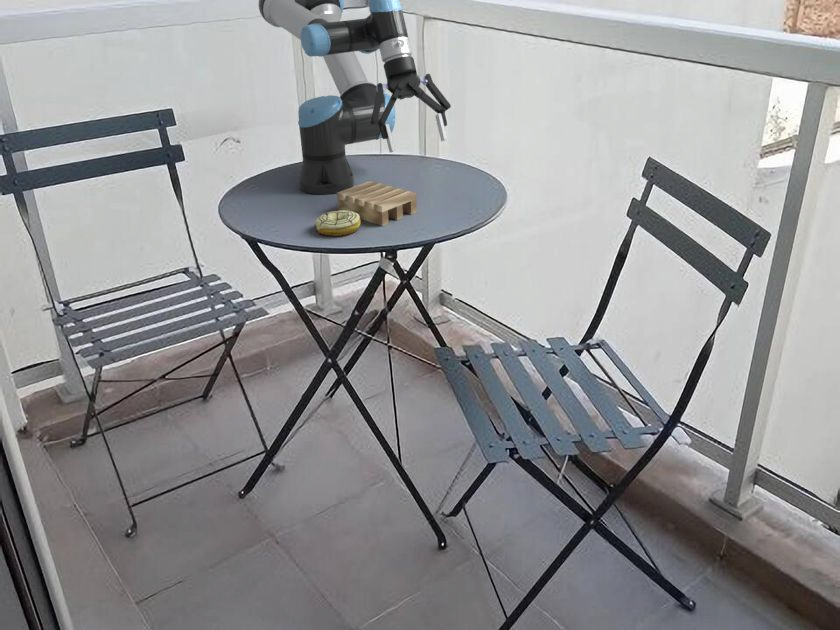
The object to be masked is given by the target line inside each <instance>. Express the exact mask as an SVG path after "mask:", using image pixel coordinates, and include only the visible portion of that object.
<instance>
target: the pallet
mask: <svg viewBox="0 0 840 630" xmlns="http://www.w3.org/2000/svg"><path fill="white" fill-rule="evenodd" d="M336 201H337V203H336V204H337V211H340V210H348V211H353V212H355V213H357V214H359V216H360V220H363V221H366V222H369V223H372V224H375V225H378V226H382V227H384V226H386V225H389V224H390V222H389V219H392V220H395V221H398V220H402V219H404V213H405V214H408V215H413V214H416V213H418V206H417V202H418V201H417V192H413V191H409V190H406V189H403V188H398V187H395V186H391V185H388V184H386V183H382V182H377V181H373V180H370V181H367V182H363V183H361V184H358V185H354V186H353V187H351V188H349V189H346V190H344V191H341V192H337V193H336Z"/></svg>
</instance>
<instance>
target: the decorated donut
mask: <svg viewBox="0 0 840 630" xmlns="http://www.w3.org/2000/svg"><path fill="white" fill-rule="evenodd" d="M361 220H362V219H360V216H359V214H357V213H355V212H353V211H348V210H340V211H338V210H332V211H328V212H325V213H323V214H321V215H320V216H318V217H317V218H316V219H315V221H314V224H315V228H316V232H318V233H319V234H320V233H321V234H320V235H323V234H326V235H333V236H332V237H337V236H338V237H343V236H347V234H348V235H351V234H353V232H354V233H355V232H357V230H358V229H359V227H360V226H361ZM326 235H325V236H326ZM342 235H343V236H342Z"/></svg>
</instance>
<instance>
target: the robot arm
mask: <svg viewBox="0 0 840 630" xmlns="http://www.w3.org/2000/svg"><path fill="white" fill-rule="evenodd" d="M344 4H345V3H344V0H258V9H259V13H260V15H261V17H262V18H263V20H264V21H265V22H267V23H268V24H269V25H271V26H272V27H274V28H282V29H284V30H285V31H286V32H288V33H290V34H291V35H293V36H294V37H296V38H297V39H298V40H300V43H301V47H302V49H303V51H304V53H305V54H306V56H308V57H322V58H323V60H324V62H325V64H326V67H327V69H328V71H329V73H330V76H331V77H332V80H333V82H334V85H335V86H336V89H337V91H338V93H339V95H340V96H339V95H323V96H317V97H313V98H310V99H308V100H306V101H304V102H303V103H301V104H300V106H299V107H298V111H297V112H298V121H297V122H298V127H299V136H300V137H299V138H300V143H301V144H300V146H301V155H302V162H301V168H300V173H299V177H298V187H299V190H300V189H301V190H300V191H302V192H304V193H306V194H313V195H329V194H337V193H338V192H341V191H344V190H346V189H349V188H352V187H354V186H355V177H354V174H353V172H352V169H351V166H350V163H349V161H348V159H347V155H346V145H352V144H356V143H357V144H359V143H364V142H369V141H374V140H375V141H378V140H380V139H382V140H386V143H387V149H388V152H389V153H393V152H395V151H396V148H395V144H394V140H393V137H392V132H393V131H394V129H395V123H396V108H395V104H396V102H397V100H400V101H401V100H405V99H410V98H411V99H412V98H413V97H414V96H415V98H417V99H419V100H421V101H422V102H423V103H424V104H426V105H427V106H428V107H429V108H430V109H431V110H433V111H434V112H435V113H437V114H435V116H434V118H435V121H436V125H437V130H438V133H439V139H440V142H445V141H446V140H448V137H447V132H446V129H445V127H446V126H447V125H448V122H447V118H446V111H447V110H449V109H451V104H450V101H448V100H447V99H446V97H445V96H444V95H443V93H442V92H441V91H440V89H439V88H438V87H437V85H436V84H435V83H434V82H433V79H432V76H431V74H430V73H426V74H425V75H423V76H419V75H418V72H417V71H418V70H417V68H416V64H415V59H414V57H413V56H412V55H413V52H412V51H413V50H412V47H411V44H410V38H409V35H408V30H407V25H406V21H405V20H406V19H405V17H404V12H403V7H402V5H401V2H400V0H369V1H368V7H369V9H368V11H369V13H370V14H369V15H368V16H367V17H365V18H358V19H350V20H349V19H347V20H341V19H342V15H343V12H344V7H345V6H344ZM378 50H379V51H380V56H381V61H382V62H383V63H384V64H383V68H384V69H383V70H384V75H385V77H386V81H387V82H386V83H382V82H379V83H377V84H375V83H374V82H373V83H372V82H369V80H368V78H367V77H366V74H365V71H364V69H363V67H362V65H361V64H360V61H359V59H358V56H357V55H356V53H355V52H360V53H362V54H366V55H367V54H368V55H369V54H371V53H374V52H377V51H378ZM421 83H422V85H423V86H425V87H426V88H427V90H428V91H429V93H431V95H432V96H433V98H432V97H431V96H430V95H428V94H427V93H426V92H425V91H424V89H422V88H421V87H420V84H421ZM387 90H388V91H389V92H390V93H391V95H390V94H388V93H385V92H386V91H387ZM434 99H435V100H434Z"/></svg>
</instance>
